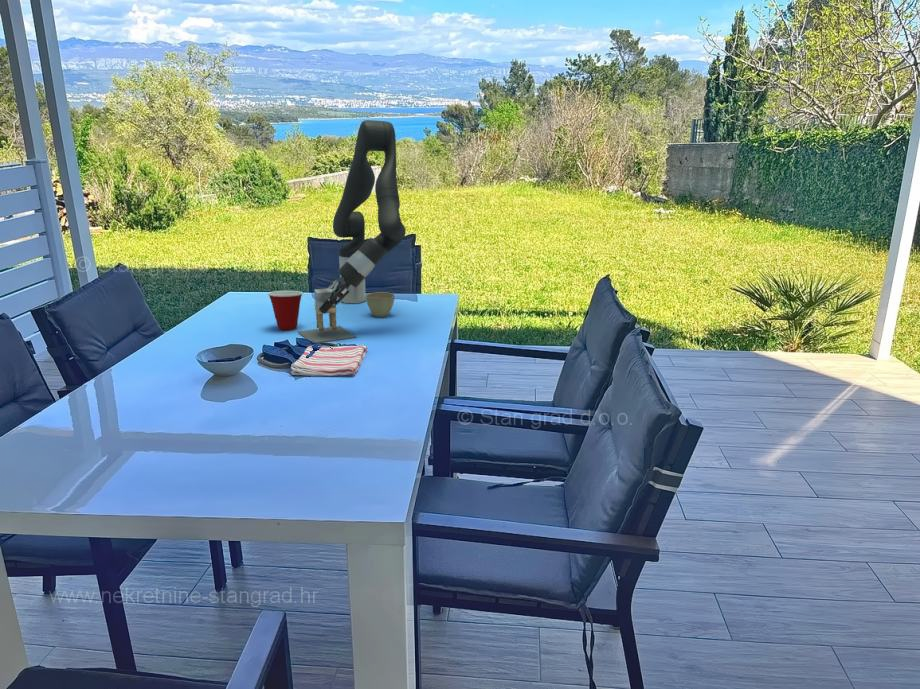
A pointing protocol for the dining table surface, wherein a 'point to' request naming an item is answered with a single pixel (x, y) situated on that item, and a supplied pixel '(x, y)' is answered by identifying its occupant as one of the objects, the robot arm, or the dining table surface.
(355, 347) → the dish towel
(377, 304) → the flower pot
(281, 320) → the plastic cup
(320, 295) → the stool
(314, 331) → the mat
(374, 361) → the dining table surface
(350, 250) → the robot arm
